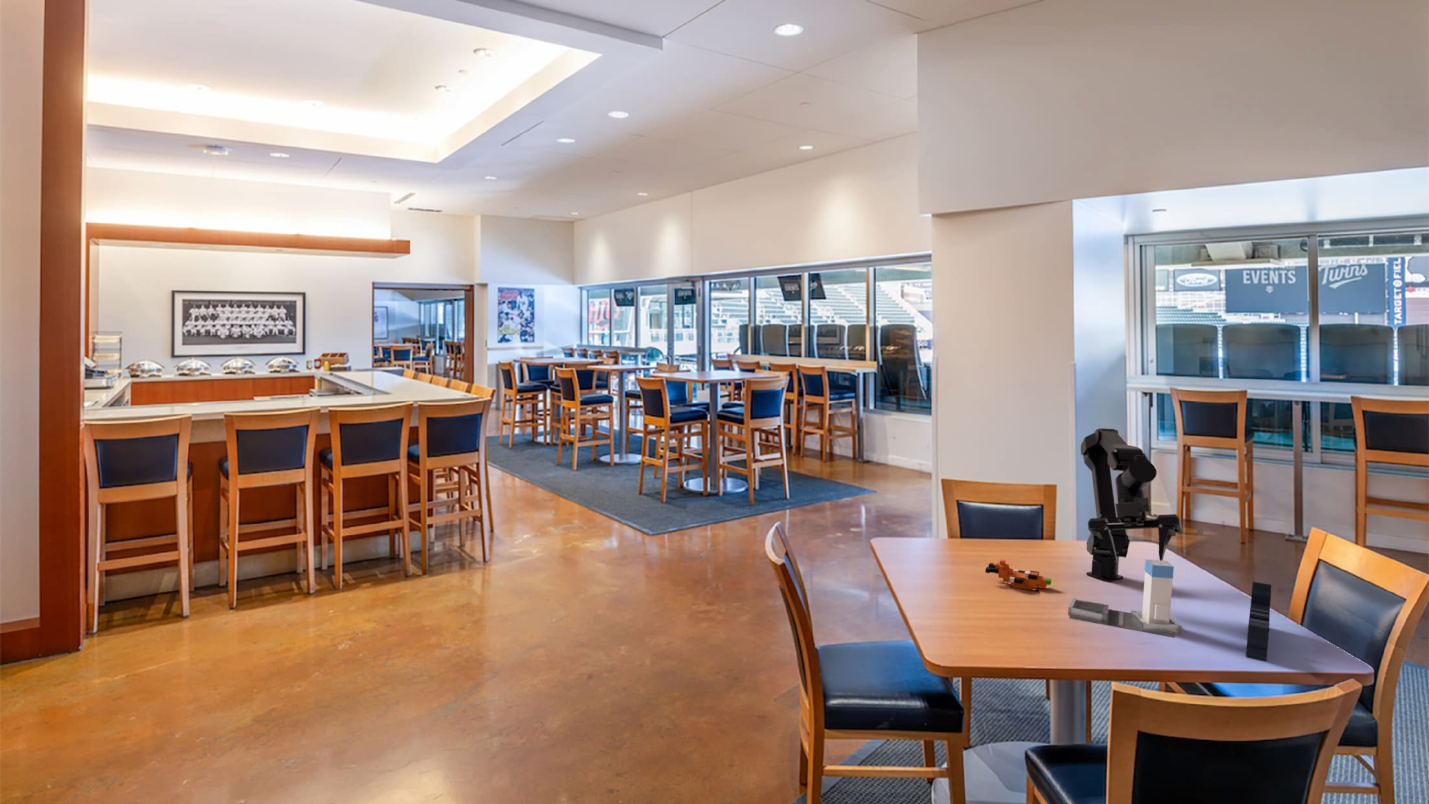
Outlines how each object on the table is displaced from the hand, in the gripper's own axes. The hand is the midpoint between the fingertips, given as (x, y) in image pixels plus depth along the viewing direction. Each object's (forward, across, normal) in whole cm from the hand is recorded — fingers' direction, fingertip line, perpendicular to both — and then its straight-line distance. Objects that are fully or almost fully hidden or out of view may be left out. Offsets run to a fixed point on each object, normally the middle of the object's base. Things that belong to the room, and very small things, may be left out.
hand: (1137, 561), depth 168 cm
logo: (+17, +20, +4) cm, 26 cm away
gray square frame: (+15, +2, -2) cm, 15 cm away
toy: (+5, -28, +5) cm, 29 cm away
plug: (+15, +2, -2) cm, 15 cm away
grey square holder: (+13, -11, -4) cm, 17 cm away
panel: (+14, -4, -3) cm, 15 cm away
